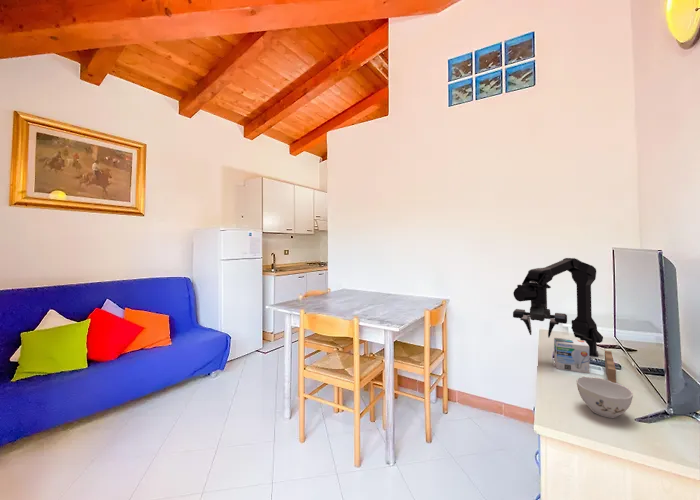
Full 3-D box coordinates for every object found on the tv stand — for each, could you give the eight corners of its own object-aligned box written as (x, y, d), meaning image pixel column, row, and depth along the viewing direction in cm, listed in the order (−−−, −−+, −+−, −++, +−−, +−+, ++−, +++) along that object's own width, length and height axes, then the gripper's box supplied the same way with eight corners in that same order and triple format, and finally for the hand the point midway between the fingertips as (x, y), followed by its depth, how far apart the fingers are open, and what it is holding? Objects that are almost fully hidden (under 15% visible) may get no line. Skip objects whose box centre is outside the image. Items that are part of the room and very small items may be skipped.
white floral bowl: (636, 431, 76) (636, 402, 76) (577, 415, 84) (576, 388, 84) (628, 405, 88) (628, 379, 88) (576, 393, 96) (576, 369, 96)
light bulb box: (556, 369, 114) (555, 342, 114) (553, 362, 120) (553, 337, 120) (590, 373, 109) (590, 345, 109) (586, 366, 115) (585, 340, 115)
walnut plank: (605, 365, 115) (604, 350, 115) (611, 366, 114) (611, 351, 114) (608, 385, 100) (608, 368, 100) (616, 387, 99) (615, 369, 99)
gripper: (510, 300, 120) (511, 337, 120) (565, 305, 108) (566, 346, 109) (514, 296, 129) (515, 330, 129) (566, 300, 117) (567, 337, 117)
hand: (539, 336), depth 121 cm, fingers open, 6 cm apart
